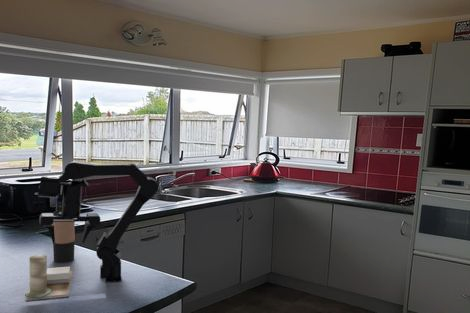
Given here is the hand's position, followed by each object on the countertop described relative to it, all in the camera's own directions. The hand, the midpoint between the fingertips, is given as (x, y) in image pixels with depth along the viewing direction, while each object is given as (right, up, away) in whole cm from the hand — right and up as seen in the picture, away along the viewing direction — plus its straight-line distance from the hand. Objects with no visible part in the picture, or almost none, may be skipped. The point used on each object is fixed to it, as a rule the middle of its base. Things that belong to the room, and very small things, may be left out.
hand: (68, 243), depth 139 cm
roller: (-5, -12, -12) cm, 18 cm away
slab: (-3, -12, -3) cm, 13 cm away
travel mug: (-9, -12, +19) cm, 24 cm away
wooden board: (-4, -13, -4) cm, 14 cm away
